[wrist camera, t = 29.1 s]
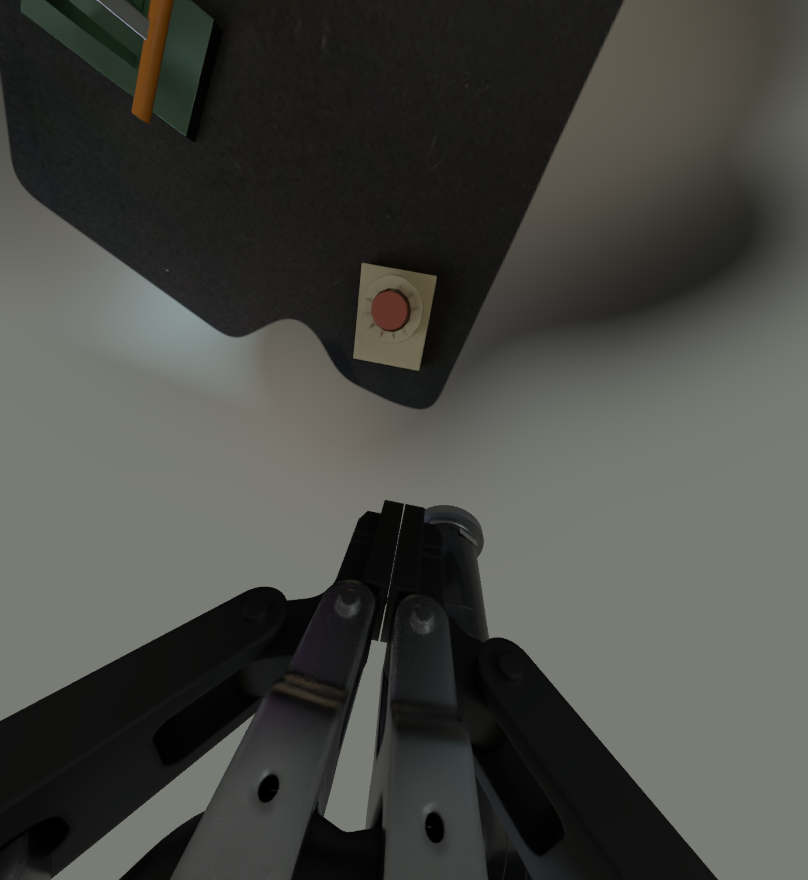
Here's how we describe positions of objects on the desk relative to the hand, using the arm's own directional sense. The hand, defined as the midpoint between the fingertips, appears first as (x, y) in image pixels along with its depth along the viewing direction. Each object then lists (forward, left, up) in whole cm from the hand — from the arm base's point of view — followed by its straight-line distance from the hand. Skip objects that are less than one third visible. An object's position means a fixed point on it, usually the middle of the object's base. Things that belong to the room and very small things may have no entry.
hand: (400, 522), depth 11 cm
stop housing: (+5, +5, -29) cm, 30 cm away
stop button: (+6, +5, -25) cm, 27 cm away
